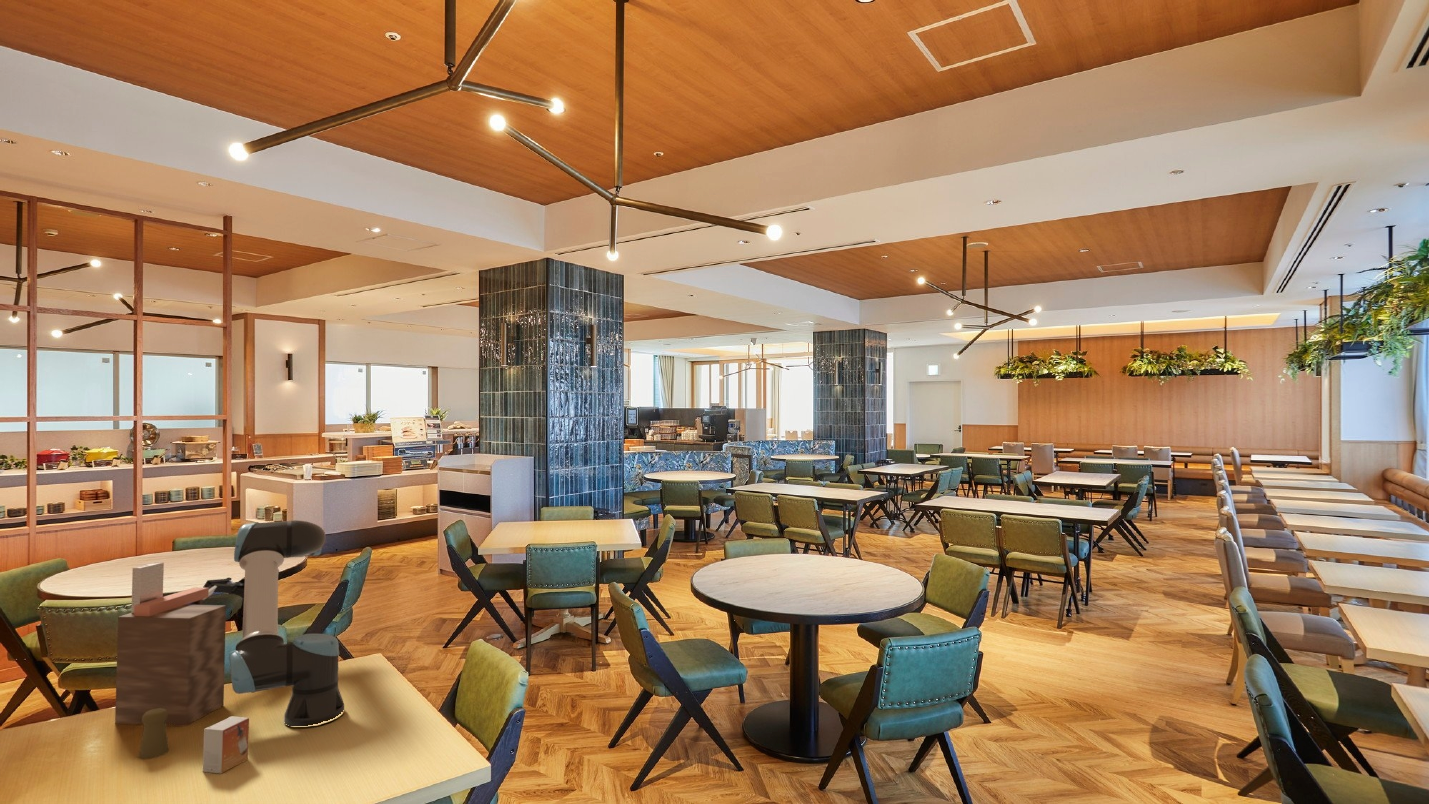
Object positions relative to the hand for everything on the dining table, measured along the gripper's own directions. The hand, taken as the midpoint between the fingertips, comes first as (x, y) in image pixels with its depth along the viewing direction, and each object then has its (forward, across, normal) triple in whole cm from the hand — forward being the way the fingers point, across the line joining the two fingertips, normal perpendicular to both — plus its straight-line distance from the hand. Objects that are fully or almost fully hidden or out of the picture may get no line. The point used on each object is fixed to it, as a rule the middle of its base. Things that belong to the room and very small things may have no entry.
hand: (225, 606), depth 225 cm
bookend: (+13, +15, -4) cm, 21 cm away
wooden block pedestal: (+20, -7, -25) cm, 32 cm away
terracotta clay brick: (+11, +10, -1) cm, 15 cm away
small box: (+57, -30, -8) cm, 65 cm away
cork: (+46, -13, -19) cm, 51 cm away
